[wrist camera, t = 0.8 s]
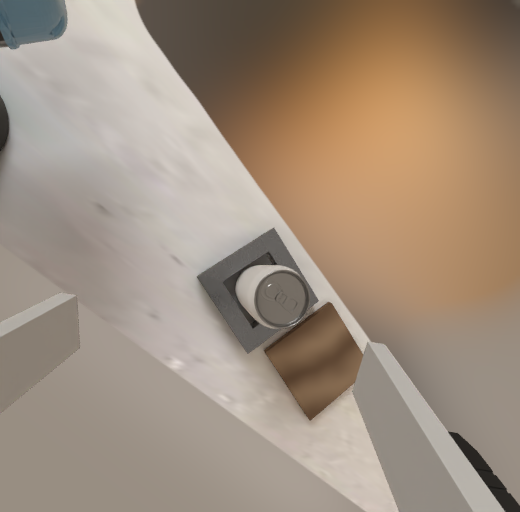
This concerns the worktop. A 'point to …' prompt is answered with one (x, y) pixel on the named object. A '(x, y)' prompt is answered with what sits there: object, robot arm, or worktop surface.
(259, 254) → the steel collar
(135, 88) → the worktop surface
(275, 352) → the walnut pad
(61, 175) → the worktop surface
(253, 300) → the can
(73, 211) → the worktop surface
